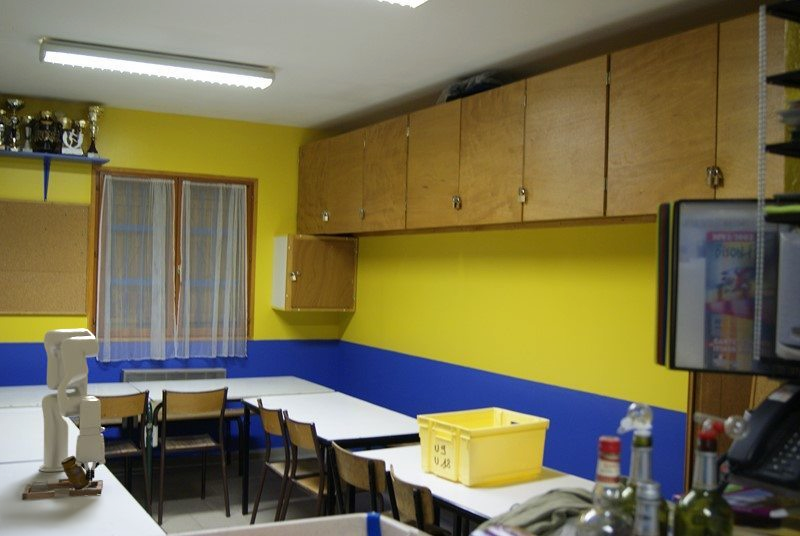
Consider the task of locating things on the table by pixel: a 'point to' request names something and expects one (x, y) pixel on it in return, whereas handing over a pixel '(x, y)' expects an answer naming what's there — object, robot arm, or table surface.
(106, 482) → the table surface
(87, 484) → the condiment
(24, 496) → the frame
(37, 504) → the table surface
